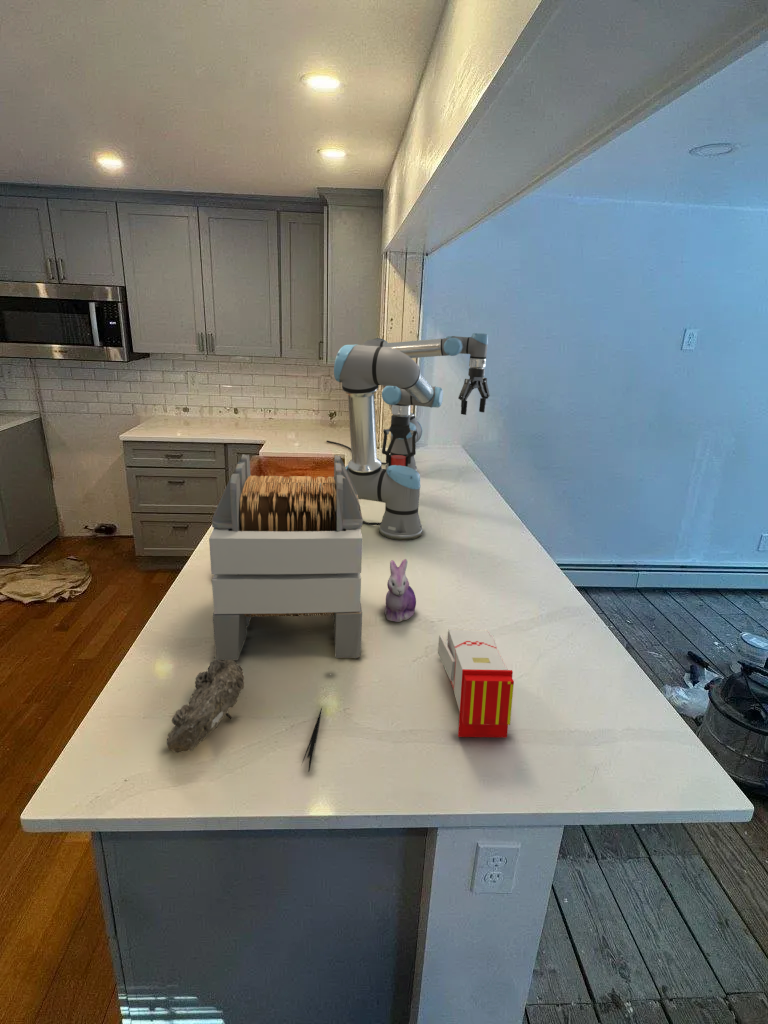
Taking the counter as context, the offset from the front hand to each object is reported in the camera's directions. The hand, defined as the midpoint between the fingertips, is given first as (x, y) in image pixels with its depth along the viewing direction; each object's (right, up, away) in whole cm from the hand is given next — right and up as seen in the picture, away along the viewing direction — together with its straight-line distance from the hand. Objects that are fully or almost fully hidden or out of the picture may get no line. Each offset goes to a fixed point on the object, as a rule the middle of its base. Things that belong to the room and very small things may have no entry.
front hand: (397, 470), depth 234 cm
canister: (0, -3, +1) cm, 3 cm away
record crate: (-29, -44, -93) cm, 107 cm away
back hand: (+37, +30, +38) cm, 61 cm away
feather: (-18, -57, -126) cm, 139 cm away
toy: (+12, -55, -116) cm, 129 cm away
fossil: (-38, -56, -126) cm, 143 cm away
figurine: (-2, -44, -87) cm, 97 cm away
